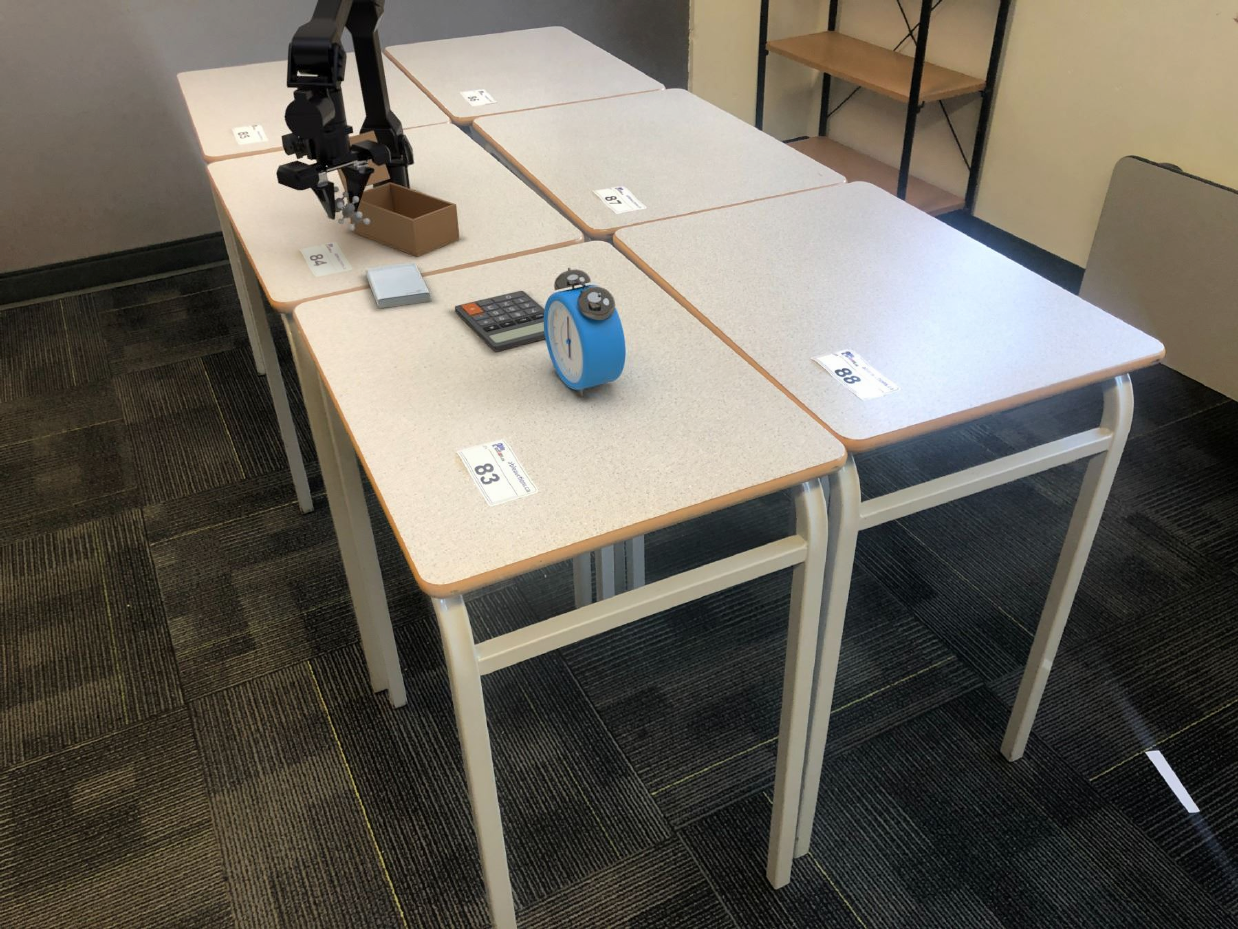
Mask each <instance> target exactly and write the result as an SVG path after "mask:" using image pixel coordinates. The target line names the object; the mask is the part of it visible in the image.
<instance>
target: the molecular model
mask: <svg viewBox="0 0 1238 929" xmlns="http://www.w3.org/2000/svg"><path fill="white" fill-rule="evenodd" d="M334 191H335V194H337V193H338V192H339V191H340V188H339V187H338V186H336V185H334ZM348 196H349V193H348V192H347V191H345V190H343V192H342V197H337V198H335V209H336V213H340V212H341V215H342V218H338V219H337V223H338V225H340V226H343V225H344V224H345V219H350V217H351V216H353V218H352V220H353V221H354V223H353V224H351V223H350V224H349V225H348V230H349V231H350V232H352V231H353V230H354V229H355V226H354V225H355V223H356V224H359V223H361V222H362V221H364V223H365V224H366V225H368V224H370V220H369V219H368V218H366V219H362V215H363V214H362V213H361V212H357V213H354V210H355V207H354V205H353V204H354V203H357V202H358V201H359V198H358V197H357V196H354V197H353V202H352V204H351V203H348V202H347V203H346V204H345V200H344V199H345V198H347V197H348ZM352 213H353V214H352ZM326 215H327V214H326ZM327 218H328V219H329V220H331V219H330V218H329V217H328V215H327Z"/></svg>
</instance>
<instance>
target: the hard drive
mask: <svg viewBox="0 0 1238 929" xmlns="http://www.w3.org/2000/svg"><path fill="white" fill-rule="evenodd" d="M365 275H366V278H367V282H368V284H369V286H370V289H371V291H372V292H371V293H372V295H373V297H374V299H375V302H376V305H377V307H378V308H381V309H383V308H384V309H385V308H391V307H399V306H404V305H405V306H406V305H413V304H420V303H427V302H430V301H431V299H432V298H431V293H430V291H429V289H428V287H427V285H426V283H425V280H424V278H423V276H422V274H421V272H420V270H419V268H418V266H417V264H416V262H404V263H396V264H389V265H382V266H375V267H369V268H366V269H365Z"/></svg>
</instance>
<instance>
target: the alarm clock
mask: <svg viewBox="0 0 1238 929" xmlns="http://www.w3.org/2000/svg"><path fill="white" fill-rule="evenodd" d="M589 283H592V280H591V277H590V276H589V274H588V273H587V272H585V271H584V270H581V269H577V268H574V269H571V267H568V268H567V270H565V271H562V272H561V273H559V275H558V276H557V277H556V278H555V280H554V283H553V288H554V291H556V292H553V293H551V294H550V295H549V296H548V298H547V299H546V302H545V305H544V333H545V339H544V340H545V344H546V348H547V351H548V355H549V358H550V360H551V363H552V365H553V368H554V370H555V372H556V373H557V375H558V377H559V378H560V380H561V381H562V382H563V383H564V384H565V385H566V386H567V387H568V388H570V389H572V390H574V391H578V392H579V395H580V397H584V390H585V389H589V388H593V387H596V386H600V385H603V384H607V383H611V382H615V381H616V380H618V379H619V378H620V376H622V373H623V370H624V368H625V363H626V355H627V354H626V350H627V349H626V348H627V347H626V339H625V338H626V337H625V333H624V329H623V325H622V320H621V317H620V315H619V312H618V310H617V308H616V301H615V298H614V295H613V294H612V293H611V292H610V291H609V290H608V289H606V288H605V287H602V286H599V285H597V284H589ZM577 286H578V287H577ZM567 288H569V289H567ZM564 289H565V290H564ZM559 290H560V291H559Z"/></svg>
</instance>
